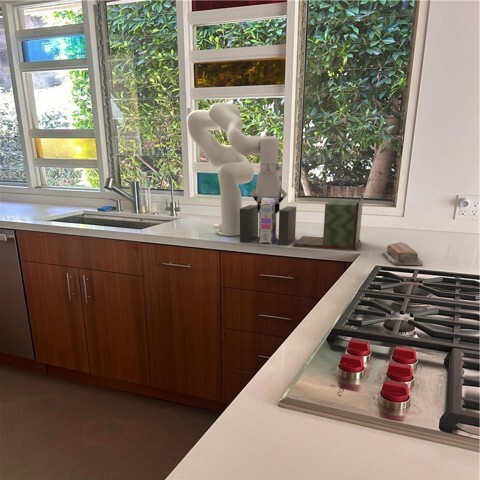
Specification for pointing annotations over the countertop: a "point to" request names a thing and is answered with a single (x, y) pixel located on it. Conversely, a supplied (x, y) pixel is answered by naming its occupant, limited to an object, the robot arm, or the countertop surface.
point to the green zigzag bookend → (338, 227)
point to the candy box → (267, 222)
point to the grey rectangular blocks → (251, 224)
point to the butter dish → (402, 254)
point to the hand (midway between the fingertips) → (268, 212)
